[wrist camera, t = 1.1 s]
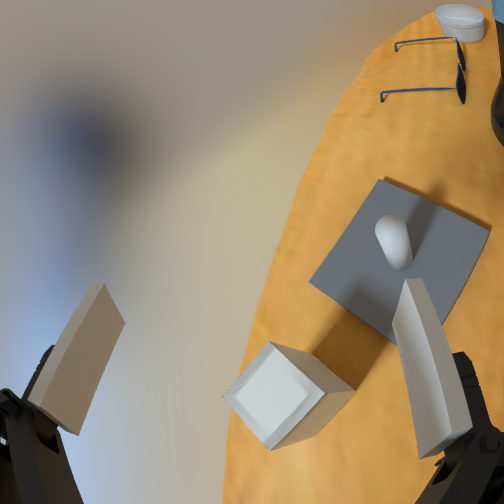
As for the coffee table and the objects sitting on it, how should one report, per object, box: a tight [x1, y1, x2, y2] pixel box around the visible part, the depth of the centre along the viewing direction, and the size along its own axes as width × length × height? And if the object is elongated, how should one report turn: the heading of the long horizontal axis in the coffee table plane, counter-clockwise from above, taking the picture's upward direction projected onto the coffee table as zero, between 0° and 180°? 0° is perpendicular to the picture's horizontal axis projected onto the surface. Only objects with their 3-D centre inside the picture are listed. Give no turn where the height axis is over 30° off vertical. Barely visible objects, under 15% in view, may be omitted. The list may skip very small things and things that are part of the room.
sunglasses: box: [380, 37, 466, 104], centre depth 38 cm, size 17×15×5 cm
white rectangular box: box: [223, 341, 355, 451], centre depth 27 cm, size 7×7×10 cm
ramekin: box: [435, 4, 485, 43], centre depth 35 cm, size 11×11×5 cm
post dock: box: [309, 179, 490, 345], centre depth 29 cm, size 16×16×8 cm
